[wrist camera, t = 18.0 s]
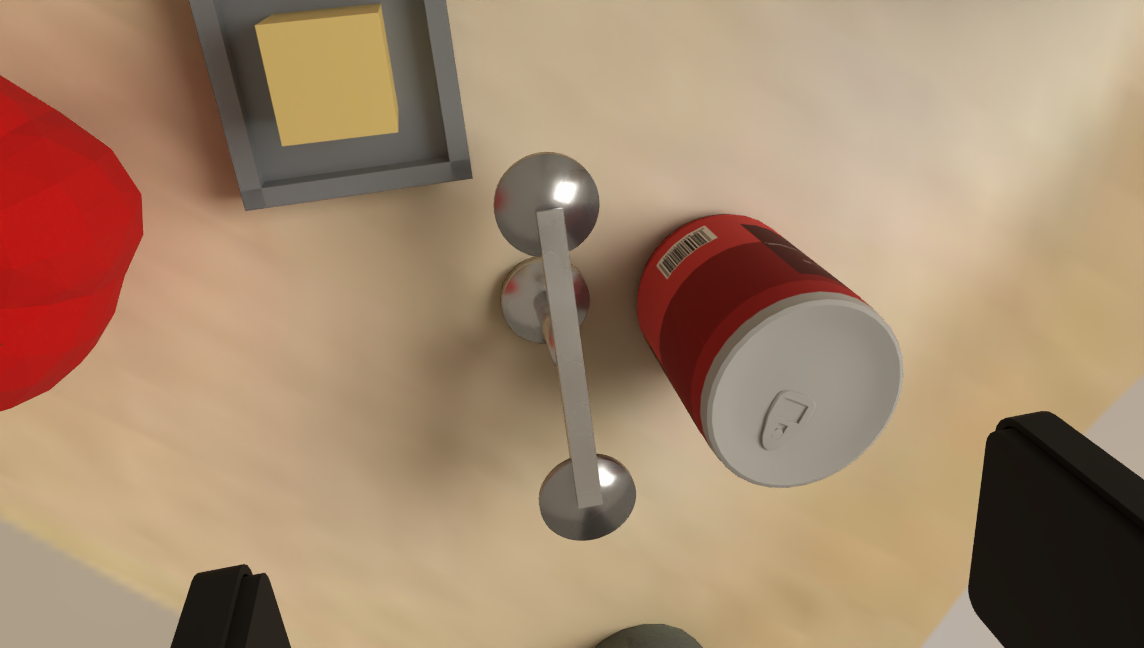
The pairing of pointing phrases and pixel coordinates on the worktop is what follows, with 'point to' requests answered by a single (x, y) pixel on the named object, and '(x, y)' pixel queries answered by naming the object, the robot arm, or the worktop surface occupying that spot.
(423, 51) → the dish
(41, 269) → the tomato
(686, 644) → the bottle
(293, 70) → the block
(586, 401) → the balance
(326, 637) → the worktop surface
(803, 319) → the canned food
